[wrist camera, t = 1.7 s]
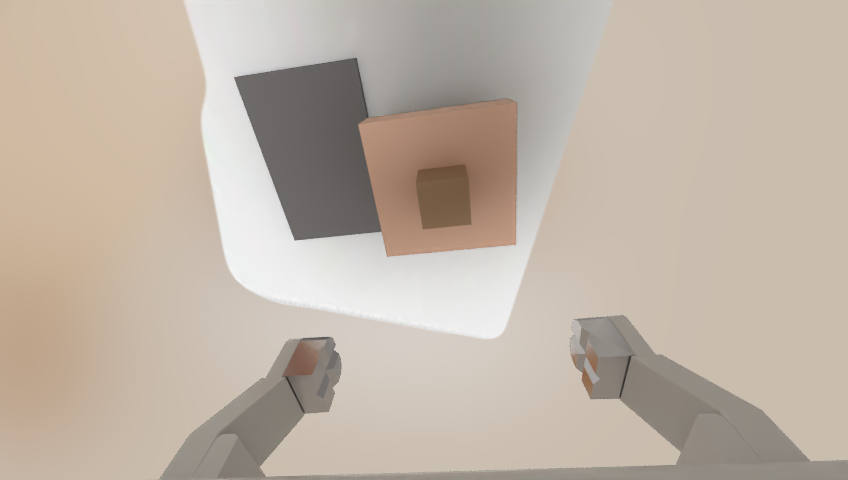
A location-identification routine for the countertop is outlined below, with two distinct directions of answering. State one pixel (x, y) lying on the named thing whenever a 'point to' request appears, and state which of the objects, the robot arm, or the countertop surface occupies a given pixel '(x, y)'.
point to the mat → (314, 146)
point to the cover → (444, 176)
